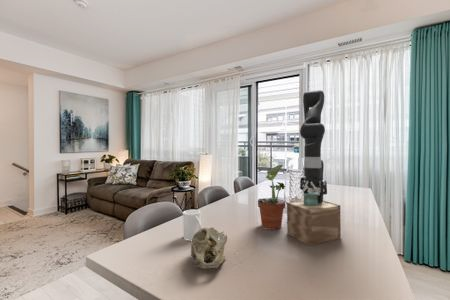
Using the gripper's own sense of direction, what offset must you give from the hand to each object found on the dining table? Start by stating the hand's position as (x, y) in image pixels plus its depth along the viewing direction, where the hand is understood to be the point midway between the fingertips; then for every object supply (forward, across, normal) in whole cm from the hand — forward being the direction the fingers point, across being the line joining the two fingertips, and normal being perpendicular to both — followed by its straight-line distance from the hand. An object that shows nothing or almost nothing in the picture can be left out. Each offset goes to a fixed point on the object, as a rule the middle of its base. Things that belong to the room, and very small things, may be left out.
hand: (312, 201), depth 103 cm
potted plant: (+16, -19, -10) cm, 27 cm away
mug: (+16, -20, -52) cm, 58 cm away
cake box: (+16, 0, 0) cm, 16 cm away
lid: (+3, 0, 0) cm, 3 cm away
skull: (+17, +2, -52) cm, 55 cm away
